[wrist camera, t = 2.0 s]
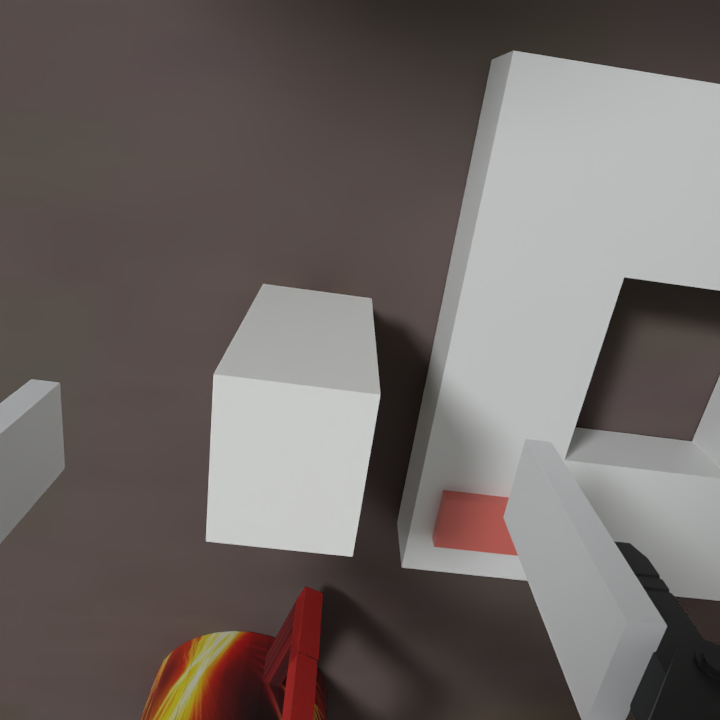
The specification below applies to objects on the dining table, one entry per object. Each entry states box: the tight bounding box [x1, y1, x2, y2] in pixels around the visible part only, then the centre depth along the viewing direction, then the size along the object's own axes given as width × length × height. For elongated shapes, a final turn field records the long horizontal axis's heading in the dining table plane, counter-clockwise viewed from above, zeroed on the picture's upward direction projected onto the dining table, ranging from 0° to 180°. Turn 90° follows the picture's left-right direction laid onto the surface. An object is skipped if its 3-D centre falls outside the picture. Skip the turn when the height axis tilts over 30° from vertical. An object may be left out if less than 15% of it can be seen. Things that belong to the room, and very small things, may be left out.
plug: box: [206, 284, 381, 557], centre depth 19 cm, size 5×4×10 cm
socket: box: [397, 51, 720, 601], centre depth 23 cm, size 20×18×4 cm
